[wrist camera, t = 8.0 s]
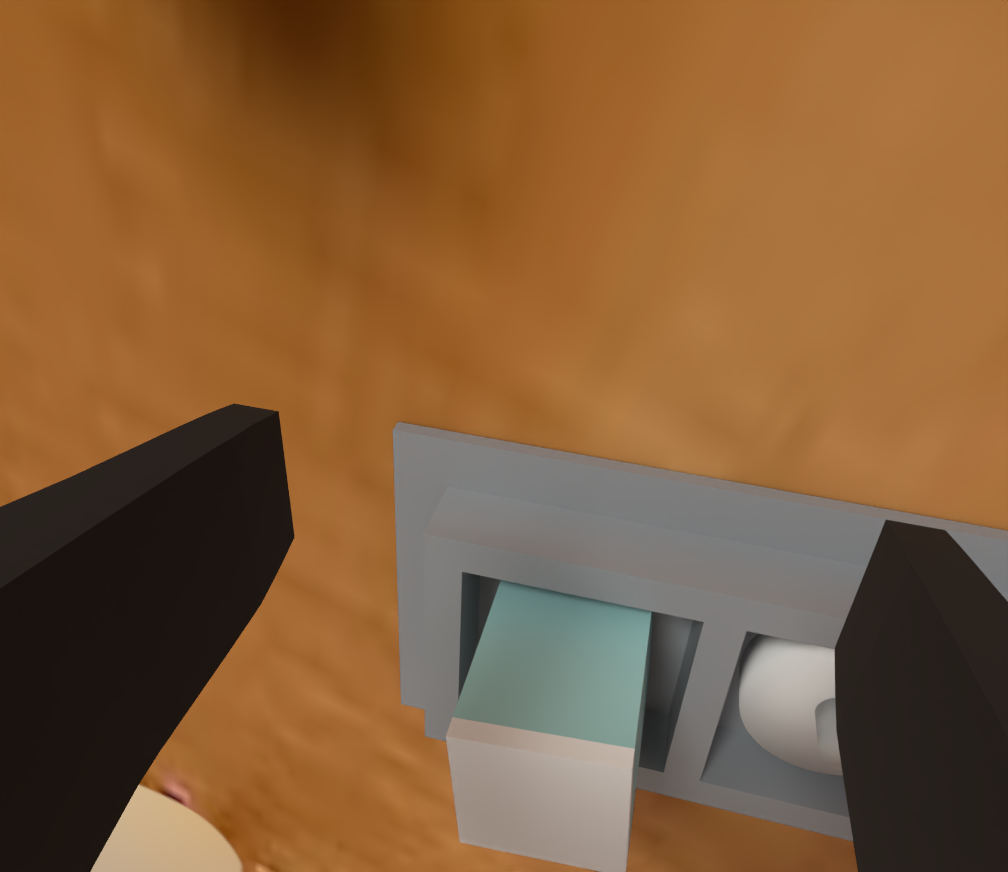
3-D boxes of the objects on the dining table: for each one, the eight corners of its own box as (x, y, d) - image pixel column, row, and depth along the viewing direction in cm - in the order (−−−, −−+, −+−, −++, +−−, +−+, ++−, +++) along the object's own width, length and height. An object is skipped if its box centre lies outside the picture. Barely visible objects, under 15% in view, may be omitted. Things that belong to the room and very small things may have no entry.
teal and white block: (655, 573, 22) (632, 769, 17) (649, 676, 24) (625, 877, 19) (509, 555, 22) (445, 736, 18) (515, 656, 25) (459, 842, 20)
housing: (1153, 556, 18) (1213, 649, 16) (972, 829, 24) (996, 924, 22) (398, 421, 21) (357, 483, 19) (405, 694, 27) (375, 765, 25)
